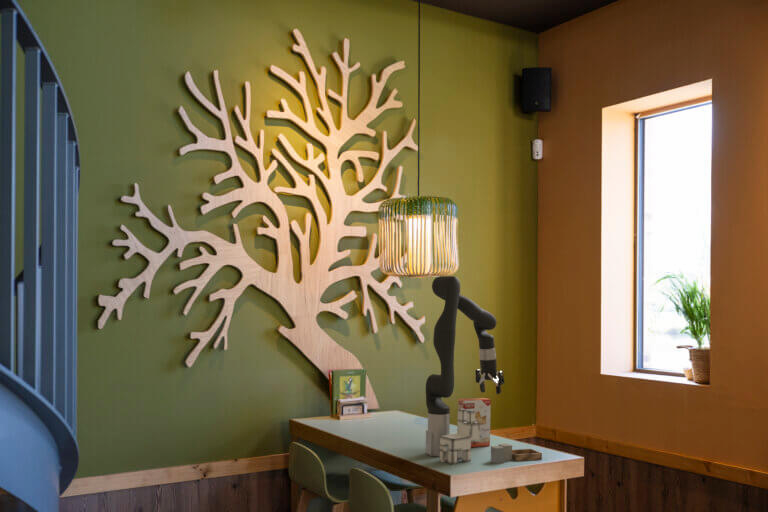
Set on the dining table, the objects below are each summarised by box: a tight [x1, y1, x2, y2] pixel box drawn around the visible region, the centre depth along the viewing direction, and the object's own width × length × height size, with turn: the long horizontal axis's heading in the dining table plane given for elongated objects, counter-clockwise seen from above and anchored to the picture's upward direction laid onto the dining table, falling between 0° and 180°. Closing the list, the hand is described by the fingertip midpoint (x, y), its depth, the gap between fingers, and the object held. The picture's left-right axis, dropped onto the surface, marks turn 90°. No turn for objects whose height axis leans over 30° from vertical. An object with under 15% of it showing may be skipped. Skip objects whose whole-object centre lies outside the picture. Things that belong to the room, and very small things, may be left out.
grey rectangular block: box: [490, 445, 505, 464], centre depth 296 cm, size 4×4×6 cm
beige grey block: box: [497, 443, 513, 462], centre depth 300 cm, size 4×4×6 cm
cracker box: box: [456, 397, 492, 448], centre depth 327 cm, size 14×6×21 cm, turn 112°
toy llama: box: [439, 408, 480, 466], centre depth 297 cm, size 8×18×20 cm, turn 128°
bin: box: [512, 448, 543, 462], centre depth 304 cm, size 12×9×2 cm
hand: (490, 393), depth 334 cm, fingers open, 8 cm apart
